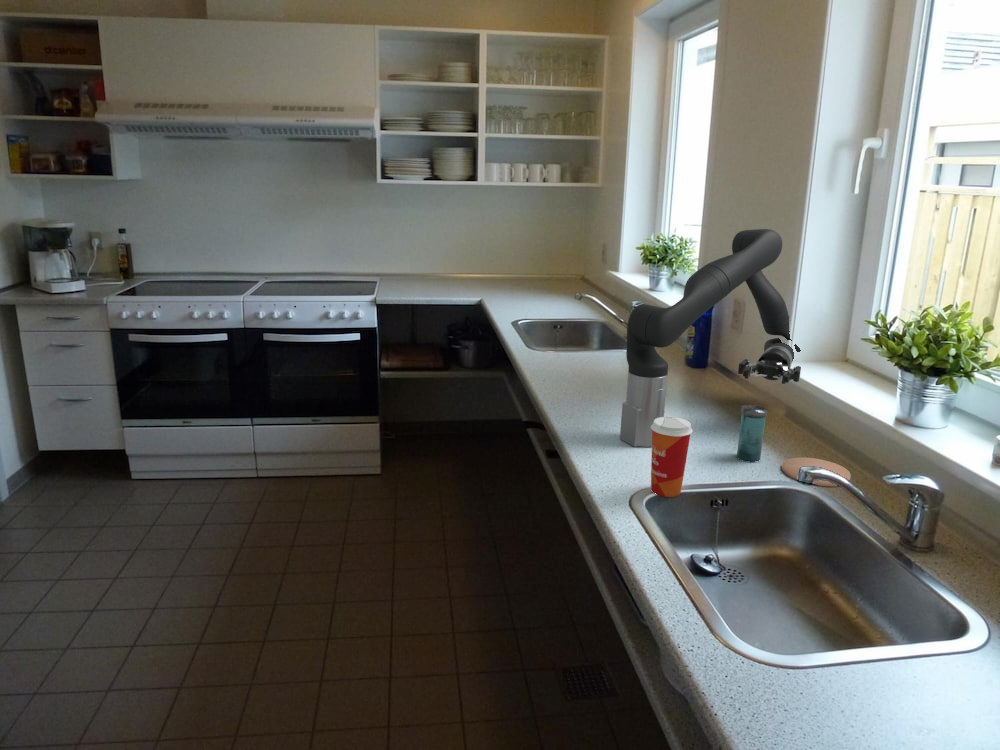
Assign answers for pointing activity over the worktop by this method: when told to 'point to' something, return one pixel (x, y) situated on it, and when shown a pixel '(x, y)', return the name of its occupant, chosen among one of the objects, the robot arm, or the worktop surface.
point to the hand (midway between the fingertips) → (765, 377)
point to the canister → (751, 432)
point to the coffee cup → (669, 455)
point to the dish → (794, 464)
